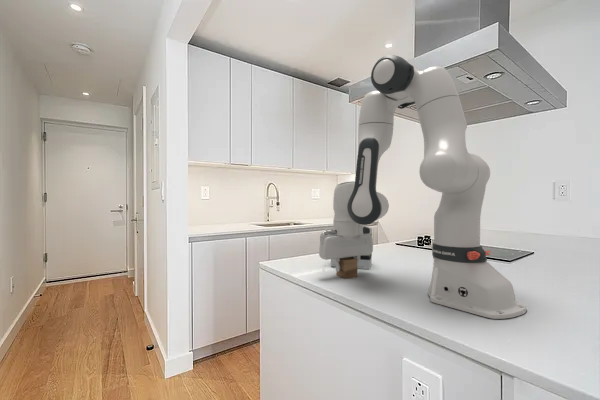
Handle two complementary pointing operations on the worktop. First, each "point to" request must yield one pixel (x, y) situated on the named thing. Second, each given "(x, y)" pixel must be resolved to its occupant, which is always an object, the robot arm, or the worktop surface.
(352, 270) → the walnut block
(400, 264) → the worktop surface
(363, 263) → the tea box
